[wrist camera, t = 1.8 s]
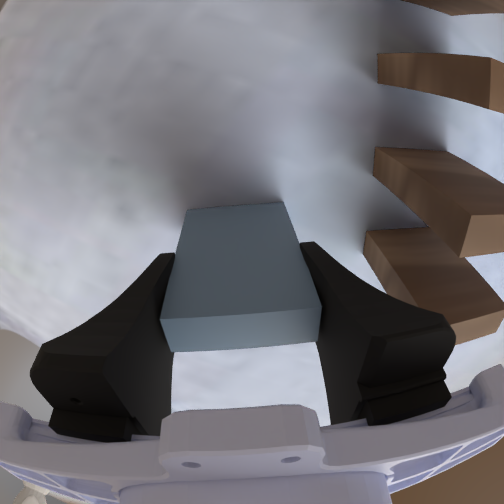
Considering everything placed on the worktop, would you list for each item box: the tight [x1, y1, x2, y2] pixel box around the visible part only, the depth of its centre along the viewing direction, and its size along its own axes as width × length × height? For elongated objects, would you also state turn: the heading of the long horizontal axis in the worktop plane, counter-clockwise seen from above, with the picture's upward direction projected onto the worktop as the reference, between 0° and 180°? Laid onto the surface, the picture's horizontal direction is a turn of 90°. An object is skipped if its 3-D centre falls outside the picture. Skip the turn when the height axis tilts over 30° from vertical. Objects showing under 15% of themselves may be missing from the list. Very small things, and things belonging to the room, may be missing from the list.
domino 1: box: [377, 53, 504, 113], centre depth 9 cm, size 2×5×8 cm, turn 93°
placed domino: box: [160, 202, 322, 352], centre depth 13 cm, size 2×5×8 cm, turn 93°
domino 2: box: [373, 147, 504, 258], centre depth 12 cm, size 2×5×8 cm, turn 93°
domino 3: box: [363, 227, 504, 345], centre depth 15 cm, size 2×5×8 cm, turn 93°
